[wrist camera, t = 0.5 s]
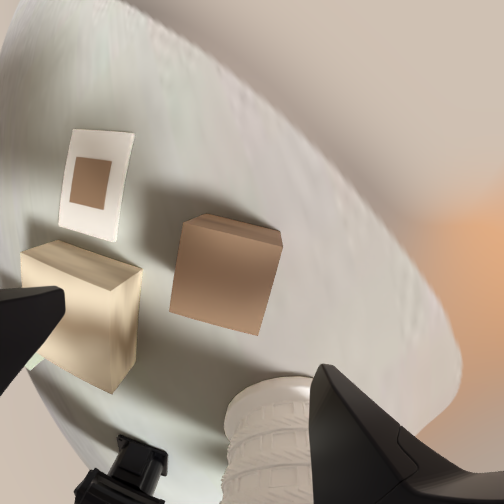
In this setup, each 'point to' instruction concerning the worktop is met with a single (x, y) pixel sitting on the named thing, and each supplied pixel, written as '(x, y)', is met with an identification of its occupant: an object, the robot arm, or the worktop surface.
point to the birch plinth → (88, 311)
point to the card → (95, 182)
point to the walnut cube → (225, 272)
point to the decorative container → (269, 444)
